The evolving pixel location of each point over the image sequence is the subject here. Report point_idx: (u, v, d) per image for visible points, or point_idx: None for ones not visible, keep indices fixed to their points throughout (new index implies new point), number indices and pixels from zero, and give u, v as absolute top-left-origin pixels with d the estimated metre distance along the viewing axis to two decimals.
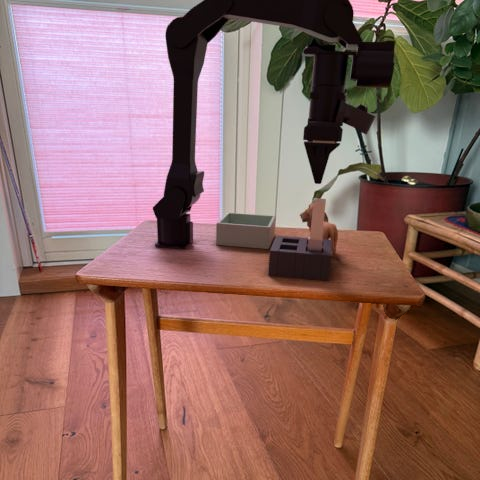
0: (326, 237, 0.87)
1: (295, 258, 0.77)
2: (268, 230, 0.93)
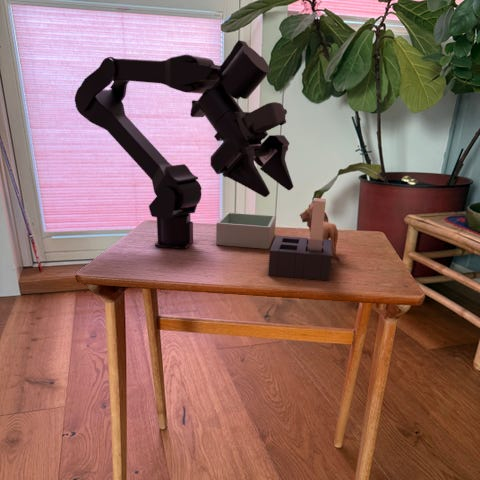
0: (326, 237, 0.87)
1: (295, 258, 0.77)
2: (268, 230, 0.93)
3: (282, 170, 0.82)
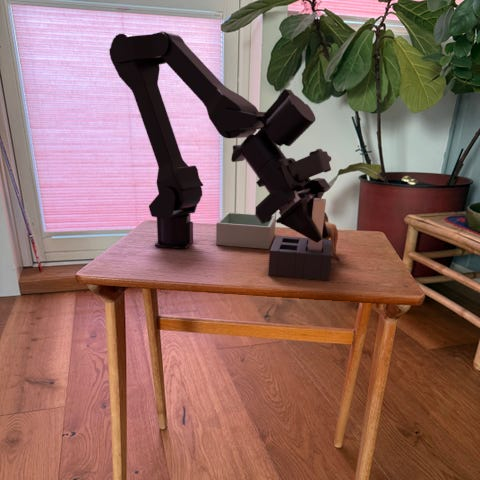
0: (326, 237, 0.87)
1: (295, 258, 0.77)
2: (268, 230, 0.93)
3: None
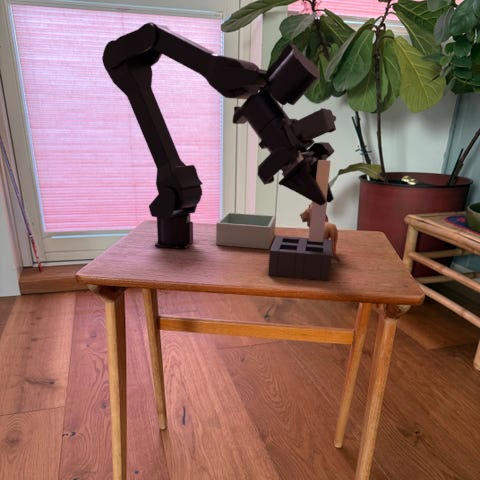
0: (326, 237, 0.87)
1: (295, 258, 0.77)
2: (268, 230, 0.93)
3: None
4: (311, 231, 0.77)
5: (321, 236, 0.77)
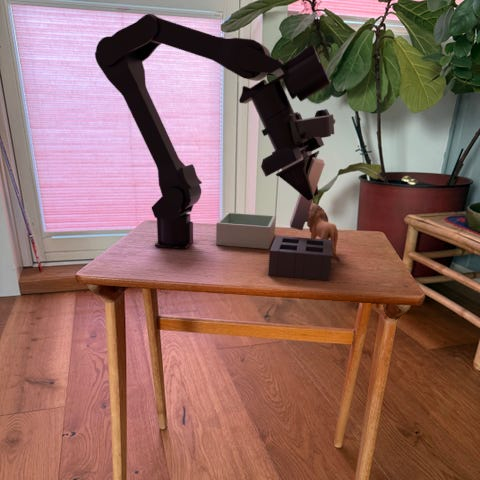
0: (326, 237, 0.87)
1: (295, 258, 0.77)
2: (268, 230, 0.93)
3: None
4: (295, 219, 0.86)
5: (302, 225, 0.87)
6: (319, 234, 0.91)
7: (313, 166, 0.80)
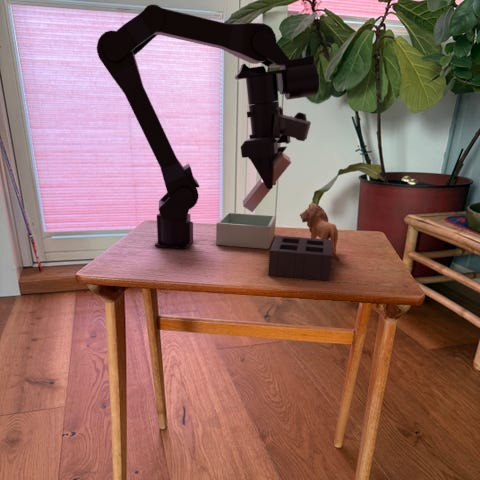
0: (326, 237, 0.87)
1: (295, 258, 0.77)
2: (268, 230, 0.93)
3: None
4: (249, 201, 0.94)
5: (254, 208, 0.95)
6: (319, 234, 0.91)
7: (281, 161, 0.89)
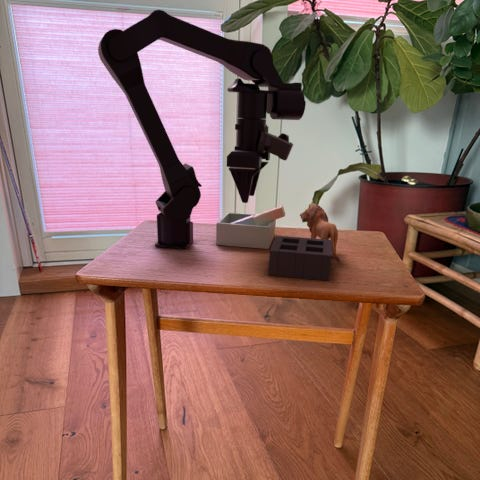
0: (326, 237, 0.87)
1: (295, 258, 0.77)
2: (268, 230, 0.93)
3: (254, 179, 0.99)
4: None
5: None
6: (319, 234, 0.91)
7: (278, 209, 0.96)
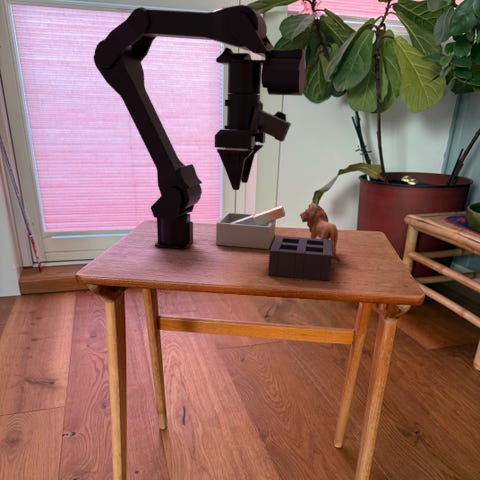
0: (326, 237, 0.87)
1: (295, 258, 0.77)
2: (268, 230, 0.93)
3: (248, 164, 0.89)
4: None
5: None
6: (319, 234, 0.91)
7: (278, 209, 0.96)
